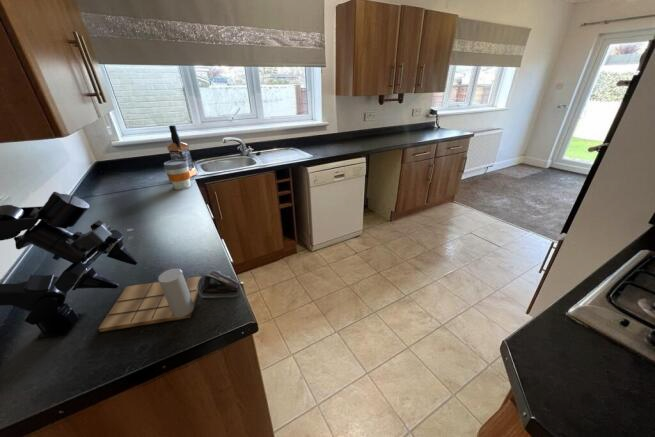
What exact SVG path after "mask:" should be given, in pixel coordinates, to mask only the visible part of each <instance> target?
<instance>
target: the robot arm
mask: <svg viewBox="0 0 655 437" xmlns="http://www.w3.org/2000/svg"><path fill="white" fill-rule="evenodd" d="M89 208H90V205H89V203H88V202H87V201H85V200H84V199H82V198H80V197H78V196H76V195H70V194H67V193H60V192H57V191H53V192H52V193H51V194H50V196H48V200H47V201H46V202H45V203H44V205H41V206H24V207H23V206H22V207H19V206H16V205H13V204H3V205H0V242H1V241H7V240H11V239H13V240H14V242H15V245H14V246H15V249H16V250H21V249H24V248H26V247H29V246H30V245H32V246H34V247H37V248H39V249H41V250H43V251H45V252H48V253H50V254H52V255H53V257H52V259H53V260H55V261H59V260H61V259H63V260H65V261H67V262H69V263H71V264H70V265H69V266H68V267H67V268H66V269H65V270H63V271H62V272H61V274H60V275H59V276H55V274H50V275H41V274H30V275H29V277H28V280H26V281H25V280H24V281H22V282H18V283H0V307H5V306H6V307H7V306H9V307H11V306H12V307H14V308H18V309H20V310H23V311H26V312H27V313H26V316H25V318H24V322H26V323H28V324H30V325H32V326H34V325H36V327H37V328H38V329H39V331H40V333H39V335H38V336H36V337H37V339H38V340H42V339H49V338H54V337H59V336H61V337H62V336H66V335H68V334H69V333H70V331H71V330H72V329H73V327H74V326H75V325H76V324H77V323H78V321H79V320H80V318H81V317H82V314H80V313H78V314H77V313H76V312H75V311H74V309H73V308H72V307H70V306H69V304H68V303H66V302H65V301H66V298H67V294H68V292H69V291H70V290H71V291H73V292H75V291H76V290H78V289H118V288H119V286H120V284H118V283H117V282H116V281H113V280H112V279H110V278H108V277H105V276H103V275H101V274H99V273H97V271H96V270H95V269H94V267H93V266H91V265H92V264H93V263H94V262H95V261H96V260H97V259H98V258H100V256H101V255H105V257H106V258H110V259H112V260H116V261H119V262H122V263H126V264H128V265H133V266H136V265H137V264H138V263H139V262H138V260H136V258H135V257H134V256H133V255H132V254H131V253H130V252H129V251H128V250H127V248H126V247H125V245H124V241H123V240H124V237H123V235H124V233H123V232H121V231H119V230H117V229H111V225H110V224H108V223H107V222H104V221H101V220H97V221H95V222H93V223H92V224H91V225H90V230H89V231H87V232H85V233H83V232H82V231H79V230H78V231H76V232H75V233H72V232H70V231H69V230H67V229H68V228H72V227H74V226H75V225H76V224H77V223H78V222H79V221H80V219H82V217H83V216H84V214H85V213H86V212H87V211H88V210H89ZM23 231H24V233H23V234H21V233H22V232H23ZM106 254H107V255H106Z"/></svg>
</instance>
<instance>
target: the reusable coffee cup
mask: <svg viewBox="0 0 655 437" xmlns="http://www.w3.org/2000/svg"><path fill="white" fill-rule="evenodd" d="M188 166H189V165H188V162H187V160H185V159H177V160H171V159H170V160H168V161H165V162H163V168H164V170H165V172H166V175H167V178H168V180H169V182H170V183H171V184H172V186H173V189H174V190H185V189H188V188H190V187H191V186H192V185H191V177H190V171H189V169H188Z"/></svg>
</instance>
